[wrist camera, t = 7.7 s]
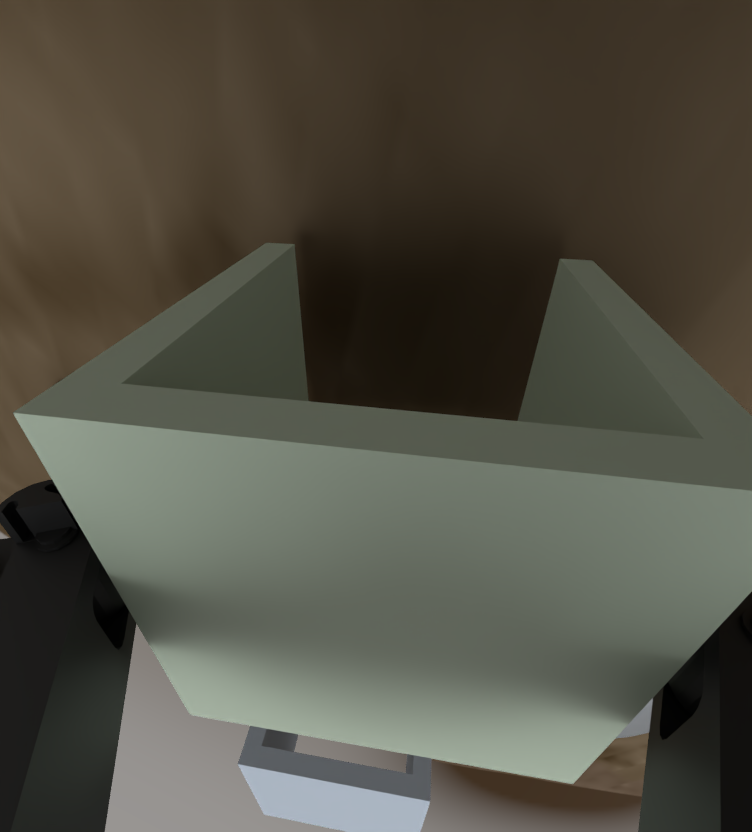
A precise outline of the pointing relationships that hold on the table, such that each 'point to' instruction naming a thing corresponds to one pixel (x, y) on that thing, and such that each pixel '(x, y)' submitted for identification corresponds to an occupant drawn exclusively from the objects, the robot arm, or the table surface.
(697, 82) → the table surface
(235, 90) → the table surface
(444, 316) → the table surface
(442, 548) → the sage cover
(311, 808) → the blue cover
